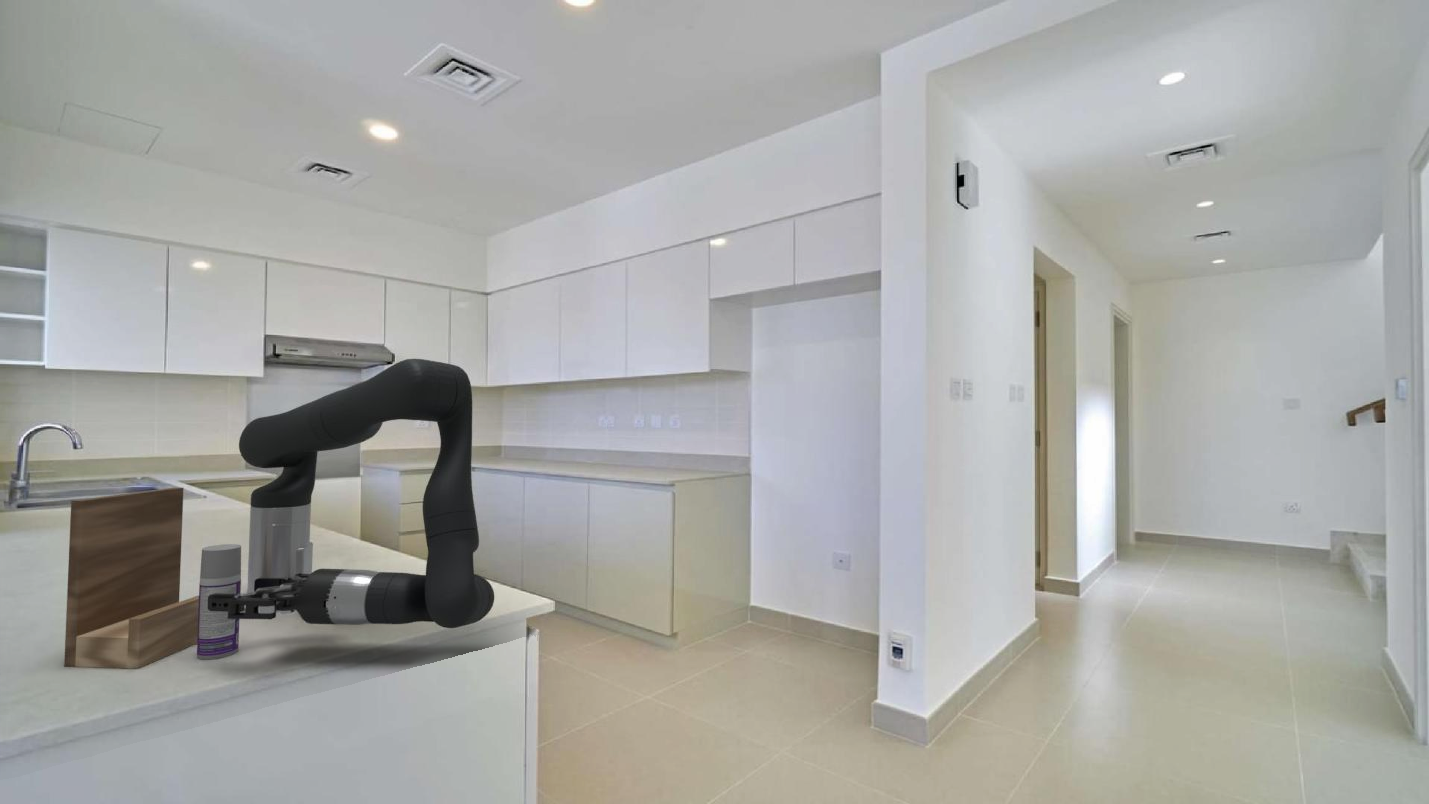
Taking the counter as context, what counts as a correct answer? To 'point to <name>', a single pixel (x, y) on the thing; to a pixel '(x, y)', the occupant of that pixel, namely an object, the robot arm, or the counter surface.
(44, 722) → the counter surface
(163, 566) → the board
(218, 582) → the container
